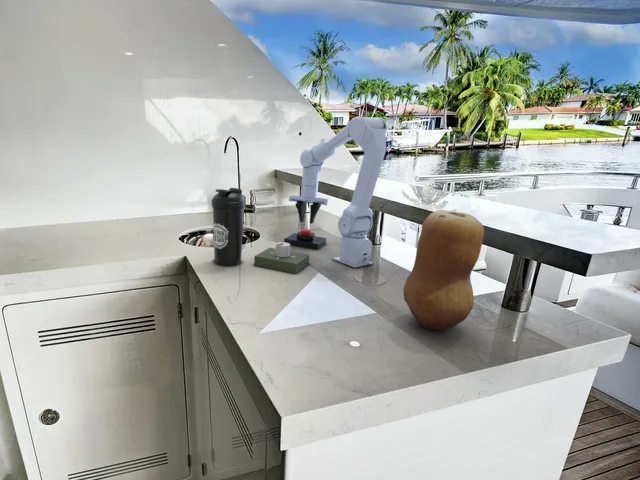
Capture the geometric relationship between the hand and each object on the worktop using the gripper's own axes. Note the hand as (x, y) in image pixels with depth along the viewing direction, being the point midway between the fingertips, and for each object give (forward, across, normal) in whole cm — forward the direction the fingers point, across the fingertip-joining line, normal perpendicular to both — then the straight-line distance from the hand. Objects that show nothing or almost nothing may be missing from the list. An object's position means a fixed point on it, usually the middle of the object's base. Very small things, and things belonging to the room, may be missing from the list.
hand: (306, 222), depth 140 cm
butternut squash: (+8, +46, -46) cm, 66 cm away
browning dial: (+5, +2, -27) cm, 27 cm away
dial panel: (+8, +2, -27) cm, 28 cm away
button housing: (+8, 0, 0) cm, 8 cm away
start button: (+5, 0, 0) cm, 5 cm away
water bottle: (+8, -14, -34) cm, 37 cm away
